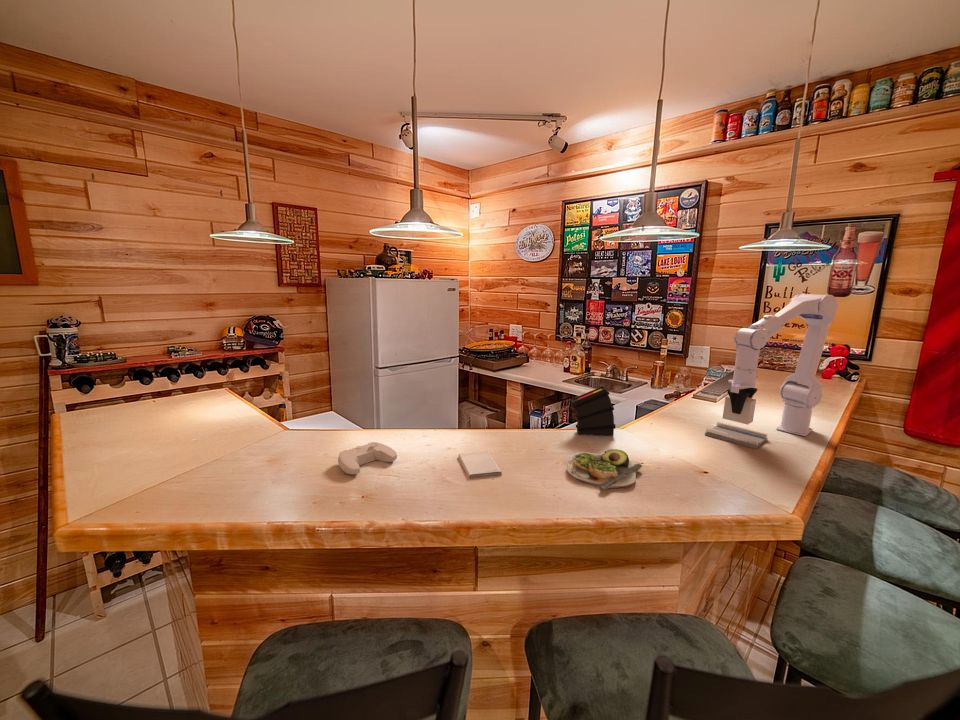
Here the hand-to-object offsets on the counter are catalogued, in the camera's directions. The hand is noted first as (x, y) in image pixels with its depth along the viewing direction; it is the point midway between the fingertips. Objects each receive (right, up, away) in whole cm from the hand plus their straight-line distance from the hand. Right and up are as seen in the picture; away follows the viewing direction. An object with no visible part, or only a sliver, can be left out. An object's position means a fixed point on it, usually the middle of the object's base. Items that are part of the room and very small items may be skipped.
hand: (739, 411), depth 129 cm
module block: (0, -3, +1) cm, 3 cm away
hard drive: (-80, -12, -21) cm, 83 cm away
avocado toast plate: (-49, -13, -23) cm, 55 cm away
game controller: (-109, -11, -21) cm, 111 cm away
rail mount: (0, -8, +2) cm, 8 cm away
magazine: (-45, -7, +2) cm, 45 cm away
